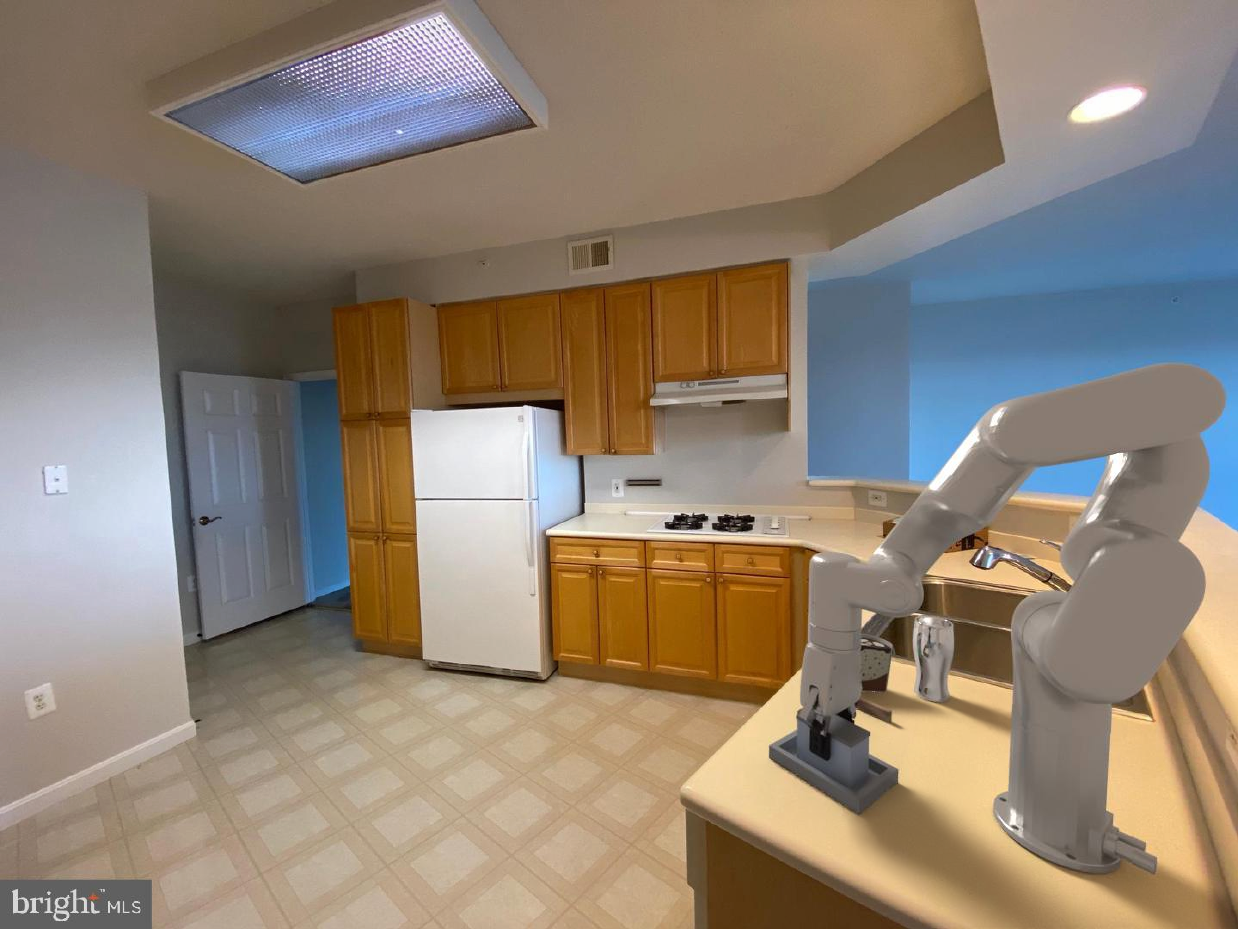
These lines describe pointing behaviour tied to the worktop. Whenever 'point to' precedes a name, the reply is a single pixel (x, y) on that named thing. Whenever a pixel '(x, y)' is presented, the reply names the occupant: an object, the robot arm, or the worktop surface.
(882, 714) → the frame
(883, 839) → the worktop surface
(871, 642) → the food container
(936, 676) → the beer glass
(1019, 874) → the worktop surface
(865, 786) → the tray
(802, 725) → the caddy
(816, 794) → the worktop surface
